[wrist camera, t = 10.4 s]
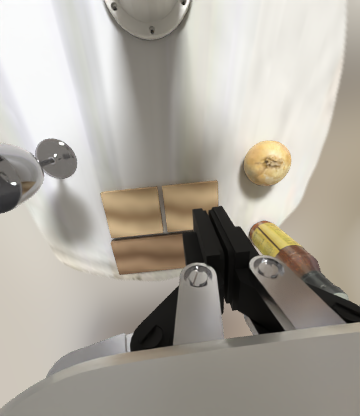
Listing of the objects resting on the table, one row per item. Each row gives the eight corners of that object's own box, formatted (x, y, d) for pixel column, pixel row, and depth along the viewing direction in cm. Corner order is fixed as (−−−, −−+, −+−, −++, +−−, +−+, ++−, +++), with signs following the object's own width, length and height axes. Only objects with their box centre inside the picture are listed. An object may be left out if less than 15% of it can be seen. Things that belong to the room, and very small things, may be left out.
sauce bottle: (257, 247, 45) (319, 329, 26) (242, 231, 43) (298, 308, 24) (281, 230, 43) (363, 305, 25) (266, 212, 41) (345, 281, 23)
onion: (285, 143, 35) (312, 147, 29) (271, 183, 38) (292, 195, 32) (246, 136, 34) (264, 138, 28) (234, 177, 37) (248, 188, 31)
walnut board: (112, 239, 41) (110, 243, 40) (219, 228, 42) (220, 231, 41) (120, 270, 45) (119, 274, 44) (219, 259, 45) (220, 263, 44)
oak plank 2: (162, 185, 37) (161, 187, 36) (216, 180, 38) (217, 181, 36) (167, 229, 41) (167, 232, 40) (217, 224, 41) (218, 226, 40)
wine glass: (88, 164, 35) (36, 188, 21) (59, 188, 36) (-8, 226, 22) (53, 126, 32) (-34, 125, 18) (22, 154, 33) (-79, 173, 20)
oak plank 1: (102, 191, 37) (100, 193, 36) (157, 186, 37) (156, 187, 36) (113, 235, 41) (111, 238, 40) (163, 229, 41) (163, 232, 40)
